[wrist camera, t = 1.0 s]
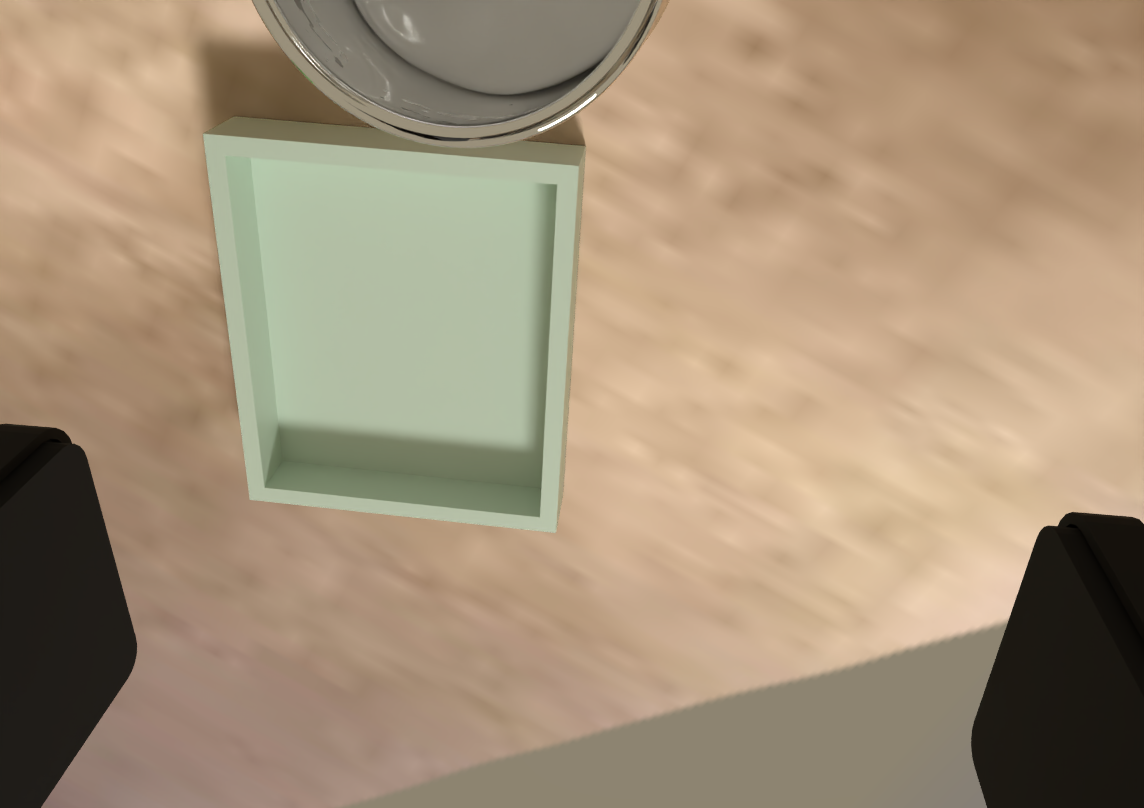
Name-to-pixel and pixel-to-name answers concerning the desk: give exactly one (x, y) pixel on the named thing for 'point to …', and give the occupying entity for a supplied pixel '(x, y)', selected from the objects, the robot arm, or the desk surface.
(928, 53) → the desk surface
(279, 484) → the tray
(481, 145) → the beer glass
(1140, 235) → the desk surface
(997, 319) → the desk surface
